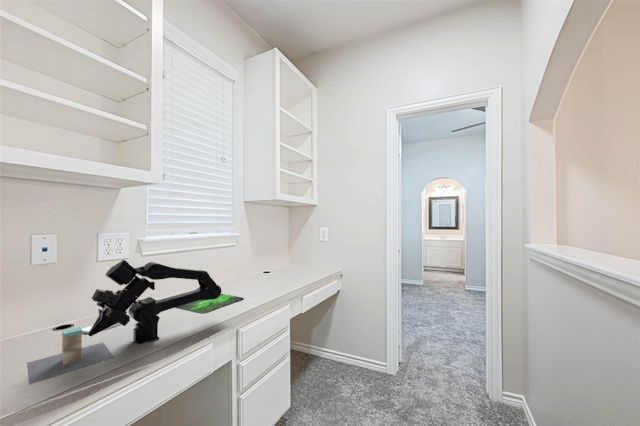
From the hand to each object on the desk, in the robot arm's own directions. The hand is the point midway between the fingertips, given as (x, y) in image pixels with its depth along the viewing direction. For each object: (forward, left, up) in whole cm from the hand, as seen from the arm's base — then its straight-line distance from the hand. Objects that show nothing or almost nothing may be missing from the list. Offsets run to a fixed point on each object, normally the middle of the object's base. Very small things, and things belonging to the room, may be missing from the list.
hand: (89, 335), depth 86 cm
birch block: (+4, 0, -6) cm, 7 cm away
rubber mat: (+4, 0, -7) cm, 8 cm away
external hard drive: (-8, -26, -7) cm, 28 cm away
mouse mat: (-52, -24, -7) cm, 58 cm away
